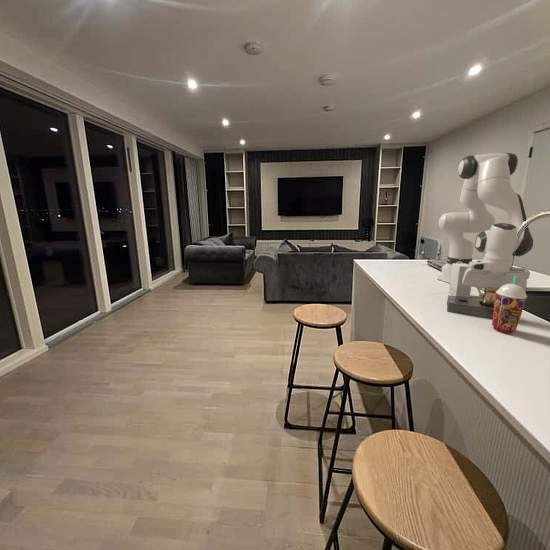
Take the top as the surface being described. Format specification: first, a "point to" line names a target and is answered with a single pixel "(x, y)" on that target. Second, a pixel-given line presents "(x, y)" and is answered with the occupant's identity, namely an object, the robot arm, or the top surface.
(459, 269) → the skincare box
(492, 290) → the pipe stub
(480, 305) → the manifold block
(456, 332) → the top surface
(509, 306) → the smoothie
